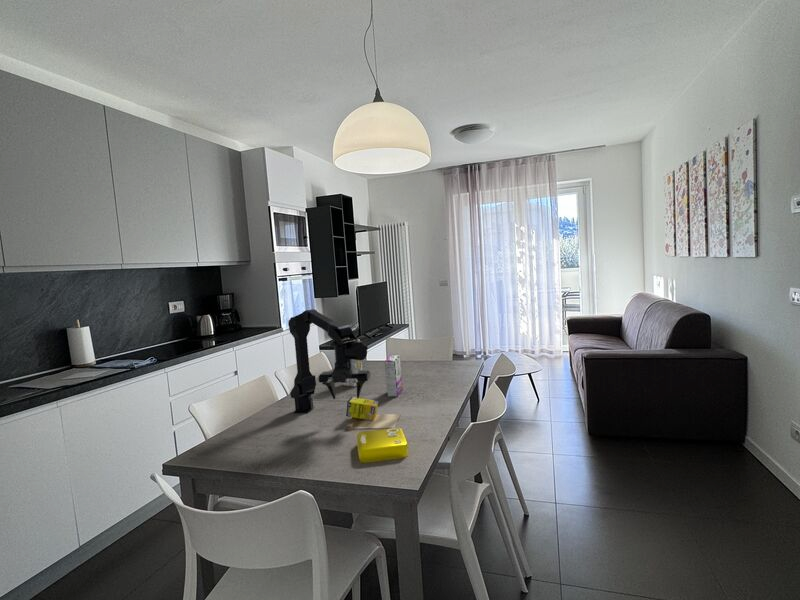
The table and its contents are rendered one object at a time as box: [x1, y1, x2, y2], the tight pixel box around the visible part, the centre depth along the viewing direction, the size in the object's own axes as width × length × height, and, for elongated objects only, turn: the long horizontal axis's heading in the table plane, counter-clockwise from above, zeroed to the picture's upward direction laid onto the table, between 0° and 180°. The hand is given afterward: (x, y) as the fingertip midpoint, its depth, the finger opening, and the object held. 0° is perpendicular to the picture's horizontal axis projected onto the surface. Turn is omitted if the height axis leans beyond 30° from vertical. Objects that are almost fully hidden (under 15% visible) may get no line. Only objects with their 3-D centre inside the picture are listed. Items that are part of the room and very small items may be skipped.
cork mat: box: [352, 413, 401, 430], centre depth 162 cm, size 16×14×1 cm
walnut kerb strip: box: [345, 417, 359, 431], centre depth 163 cm, size 2×16×2 cm, turn 171°
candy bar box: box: [384, 354, 403, 398], centre depth 196 cm, size 11×5×16 cm, turn 168°
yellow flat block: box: [356, 427, 409, 464], centre depth 136 cm, size 15×15×5 cm
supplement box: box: [345, 396, 379, 421], centre depth 165 cm, size 6×6×11 cm
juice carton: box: [342, 338, 363, 387], centre depth 216 cm, size 9×8×24 cm
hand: (346, 398), depth 163 cm, fingers open, 9 cm apart
